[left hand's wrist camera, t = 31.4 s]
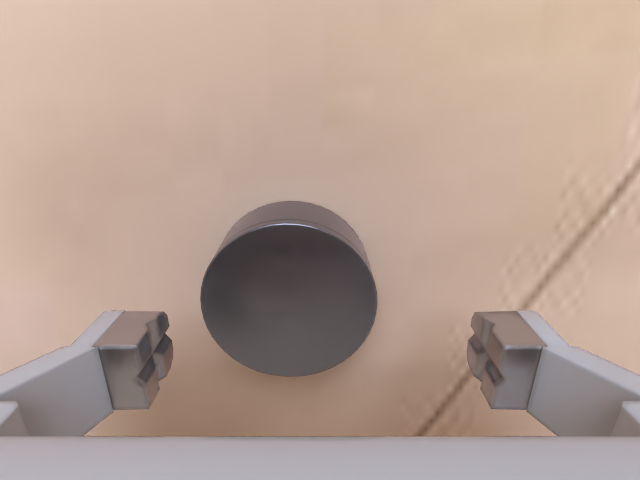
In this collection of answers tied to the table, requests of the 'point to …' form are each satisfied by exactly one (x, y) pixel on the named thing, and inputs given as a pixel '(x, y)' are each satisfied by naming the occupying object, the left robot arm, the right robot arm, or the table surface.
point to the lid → (289, 290)
